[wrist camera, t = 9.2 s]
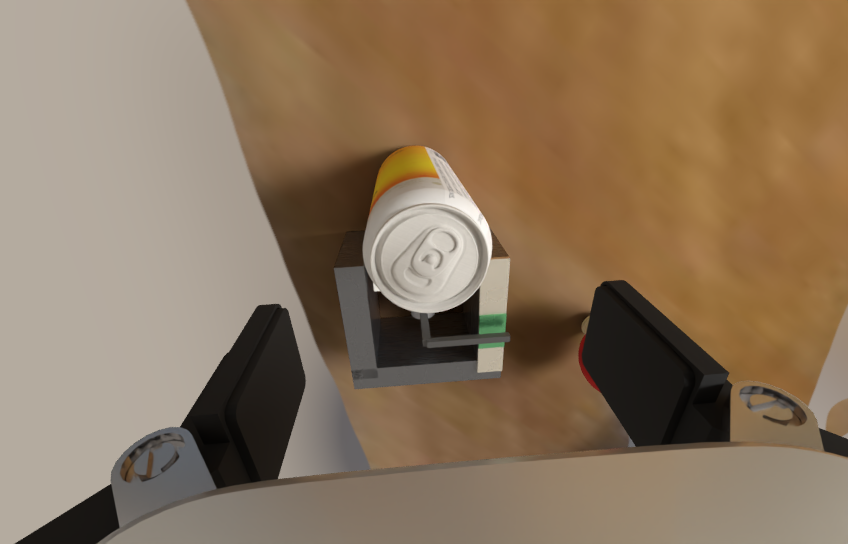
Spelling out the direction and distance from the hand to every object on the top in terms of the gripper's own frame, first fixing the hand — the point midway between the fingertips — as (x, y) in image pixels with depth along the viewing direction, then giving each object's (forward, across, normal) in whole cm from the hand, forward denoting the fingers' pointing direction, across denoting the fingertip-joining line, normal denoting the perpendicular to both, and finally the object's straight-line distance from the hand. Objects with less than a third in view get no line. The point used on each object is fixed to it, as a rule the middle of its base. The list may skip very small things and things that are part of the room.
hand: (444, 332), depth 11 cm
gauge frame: (+20, 0, +9) cm, 22 cm away
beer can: (+21, 0, +1) cm, 21 cm away
